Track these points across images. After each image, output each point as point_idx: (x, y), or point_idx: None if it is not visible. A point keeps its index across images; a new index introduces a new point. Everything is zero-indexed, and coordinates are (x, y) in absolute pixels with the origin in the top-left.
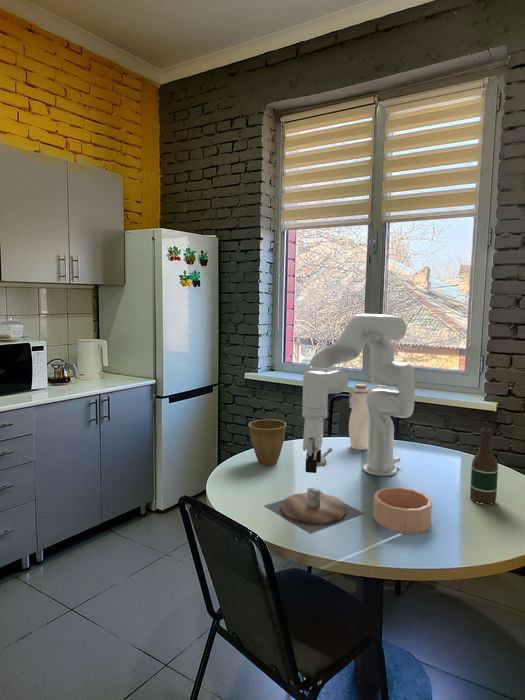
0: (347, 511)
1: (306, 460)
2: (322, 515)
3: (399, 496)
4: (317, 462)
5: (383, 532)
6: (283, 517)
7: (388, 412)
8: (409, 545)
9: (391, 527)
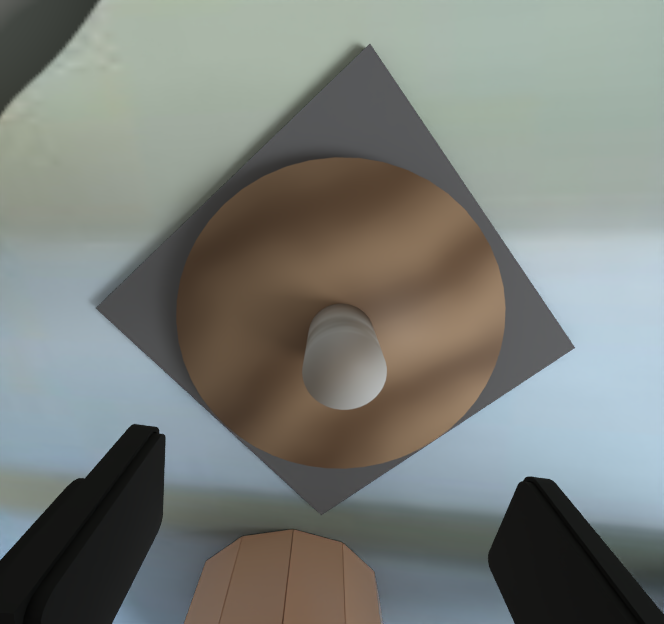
0: None
1: (6, 582)
2: (236, 370)
3: None
4: (502, 534)
5: (194, 543)
6: (231, 177)
7: None
8: None
9: (199, 579)
